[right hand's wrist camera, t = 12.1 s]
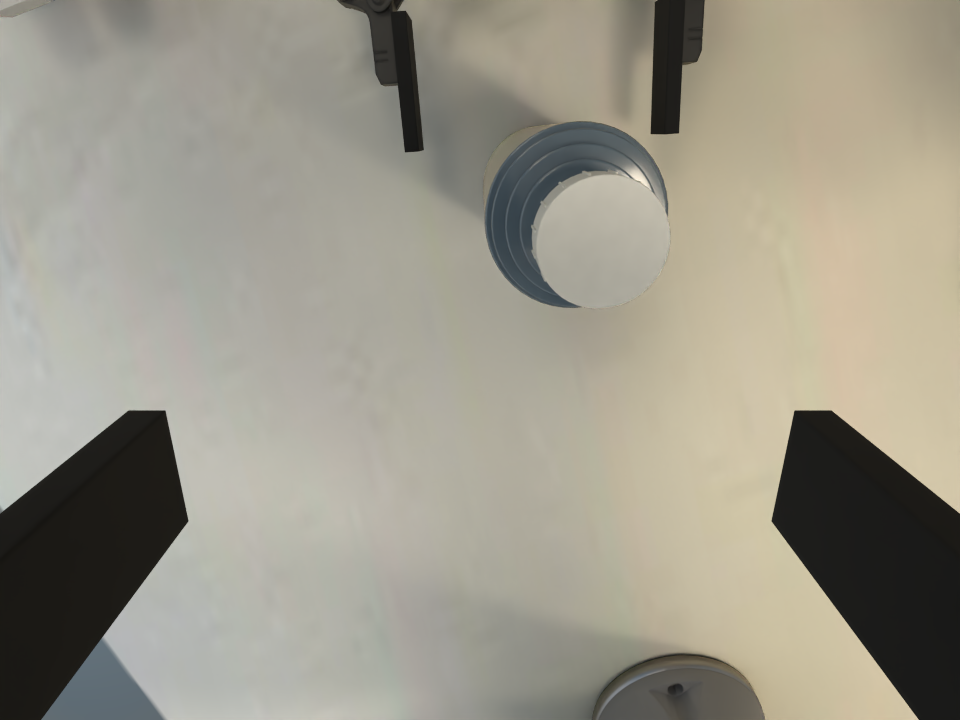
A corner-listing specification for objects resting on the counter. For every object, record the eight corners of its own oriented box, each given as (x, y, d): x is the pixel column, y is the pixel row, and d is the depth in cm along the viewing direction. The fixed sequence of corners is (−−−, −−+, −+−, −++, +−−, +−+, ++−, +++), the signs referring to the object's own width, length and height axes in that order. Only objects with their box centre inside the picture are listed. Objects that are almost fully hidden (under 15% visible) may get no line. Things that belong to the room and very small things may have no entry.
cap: (531, 298, 21) (535, 312, 20) (530, 172, 20) (534, 176, 18) (652, 294, 21) (666, 307, 20) (660, 167, 20) (676, 170, 18)
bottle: (485, 245, 41) (489, 354, 21) (480, 128, 38) (481, 123, 18) (594, 240, 40) (705, 346, 21) (597, 123, 38) (729, 112, 18)
